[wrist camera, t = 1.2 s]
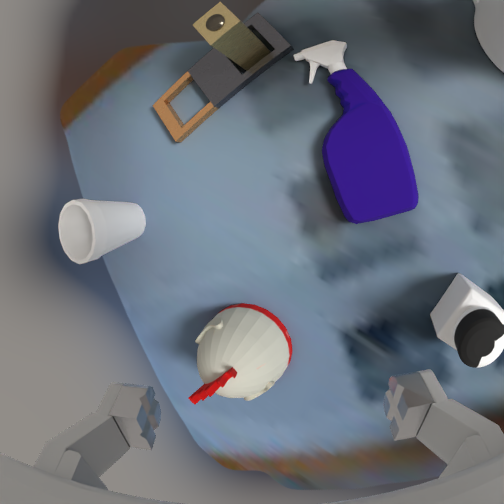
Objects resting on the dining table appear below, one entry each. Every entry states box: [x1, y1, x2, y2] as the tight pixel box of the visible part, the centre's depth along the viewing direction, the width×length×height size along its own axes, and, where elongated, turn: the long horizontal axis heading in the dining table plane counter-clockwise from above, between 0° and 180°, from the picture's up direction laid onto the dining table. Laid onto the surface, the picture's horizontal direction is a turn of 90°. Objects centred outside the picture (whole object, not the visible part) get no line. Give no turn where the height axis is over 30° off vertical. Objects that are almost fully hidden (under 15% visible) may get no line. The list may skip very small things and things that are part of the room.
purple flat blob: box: [293, 40, 418, 224], centre depth 37 cm, size 3×11×24 cm
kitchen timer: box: [189, 303, 292, 404], centre depth 43 cm, size 14×14×15 cm
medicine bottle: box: [430, 273, 504, 367], centre depth 31 cm, size 7×7×12 cm
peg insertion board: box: [153, 13, 294, 142], centre depth 42 cm, size 22×8×2 cm, turn 126°
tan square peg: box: [193, 2, 271, 71], centre depth 35 cm, size 4×4×11 cm
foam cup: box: [58, 199, 146, 264], centre depth 48 cm, size 10×9×13 cm
